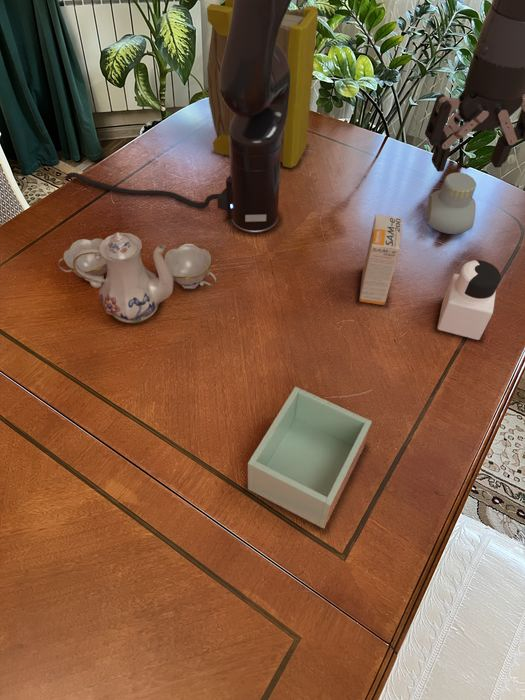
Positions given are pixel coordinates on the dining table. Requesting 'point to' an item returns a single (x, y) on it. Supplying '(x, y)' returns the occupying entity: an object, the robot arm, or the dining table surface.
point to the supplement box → (381, 259)
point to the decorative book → (299, 51)
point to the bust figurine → (470, 300)
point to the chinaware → (135, 273)
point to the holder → (308, 456)
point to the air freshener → (453, 205)
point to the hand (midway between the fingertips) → (466, 166)
